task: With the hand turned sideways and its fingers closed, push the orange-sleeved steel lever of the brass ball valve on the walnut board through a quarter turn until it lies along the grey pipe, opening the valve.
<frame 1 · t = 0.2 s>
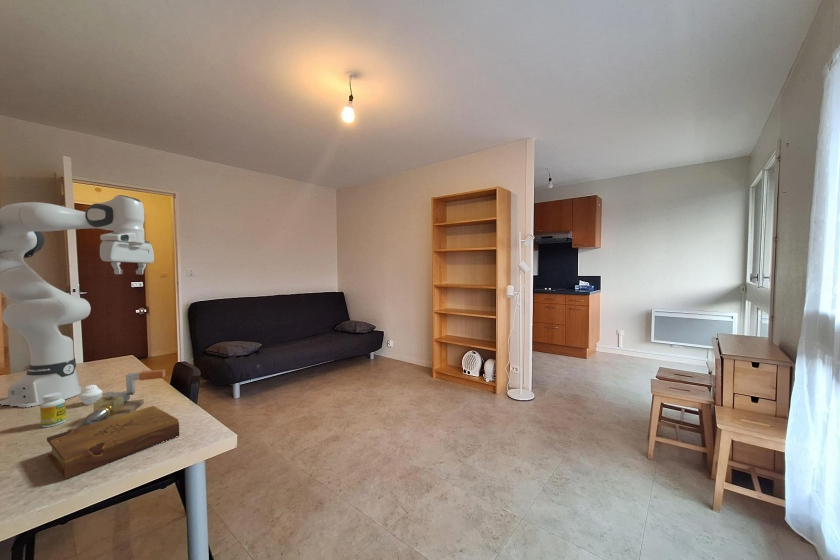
hand: (129, 274, 123), 48 cm above the table, tool pointing down, fingers open, 8 cm apart
ball valve: (109, 417, 108), resting on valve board
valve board: (109, 417, 108), on the table
muffin: (91, 403, 119), on the table
brown wooden block: (117, 448, 90), on the table
valve lever: (134, 383, 110), point 11 cm above the table, hinge at 0.0°
supplement bottle: (53, 424, 103), on the table
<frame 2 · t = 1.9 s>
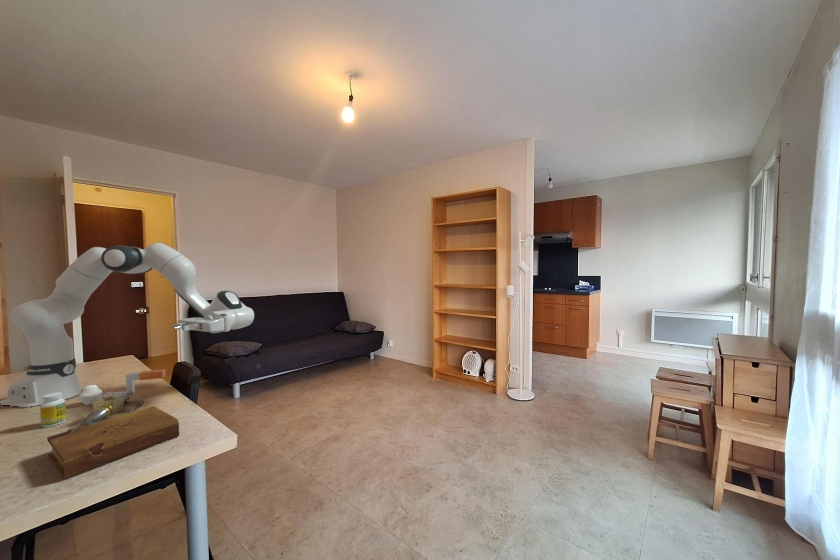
hand: (178, 327, 118), 28 cm above the table, tool horizontal, fingers open, 5 cm apart
nothing on the table moved.
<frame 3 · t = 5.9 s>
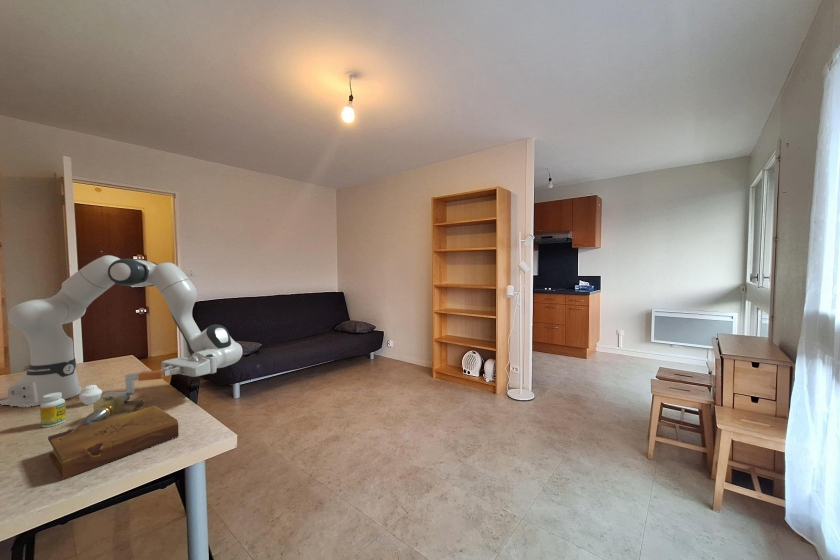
hand: (161, 373, 113), 13 cm above the table, tool horizontal, fingers closed
valve lever: (133, 384, 109), point 11 cm above the table, hinge at 3.0°, touching gripper
everything else where it was.
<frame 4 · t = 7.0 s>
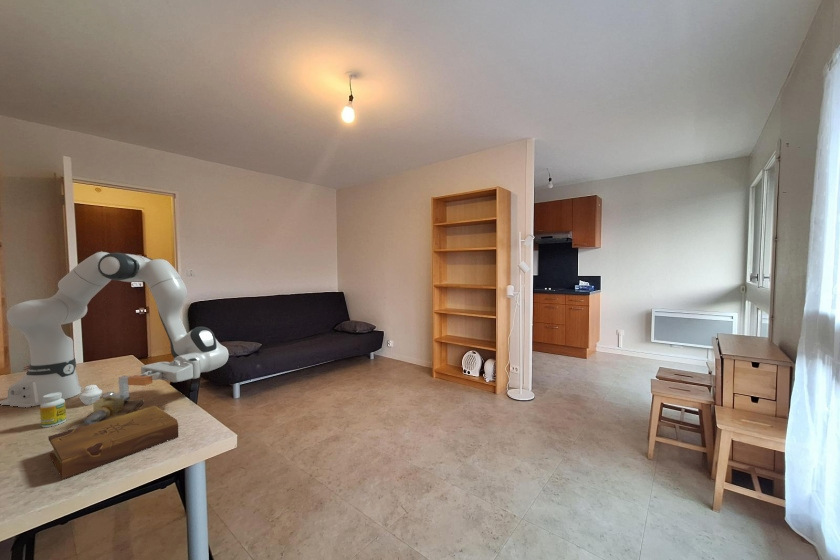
hand: (140, 378, 108), 13 cm above the table, tool horizontal, fingers closed
valve lever: (126, 387, 106), point 11 cm above the table, hinge at 27.1°, touching gripper
everything else where it was.
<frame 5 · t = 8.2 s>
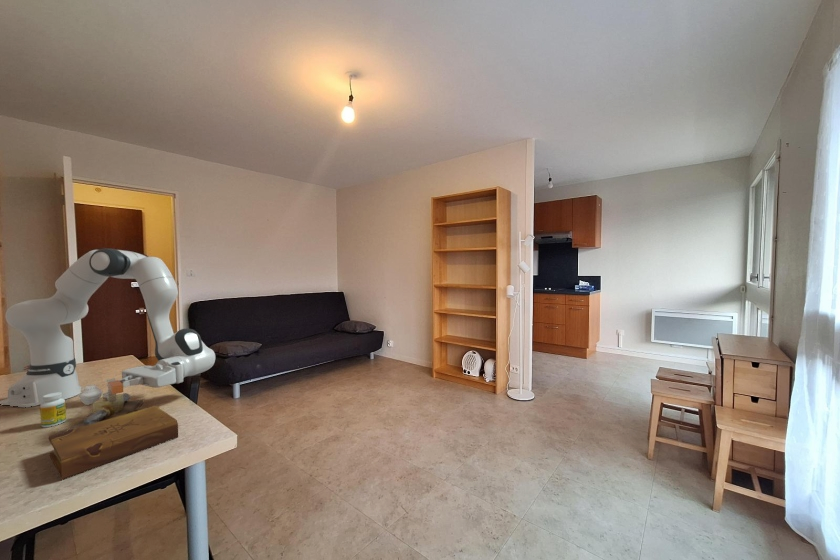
hand: (119, 384, 103), 13 cm above the table, tool horizontal, fingers closed
valve lever: (112, 391, 103), point 11 cm above the table, hinge at 57.5°, touching gripper
everything else where it was.
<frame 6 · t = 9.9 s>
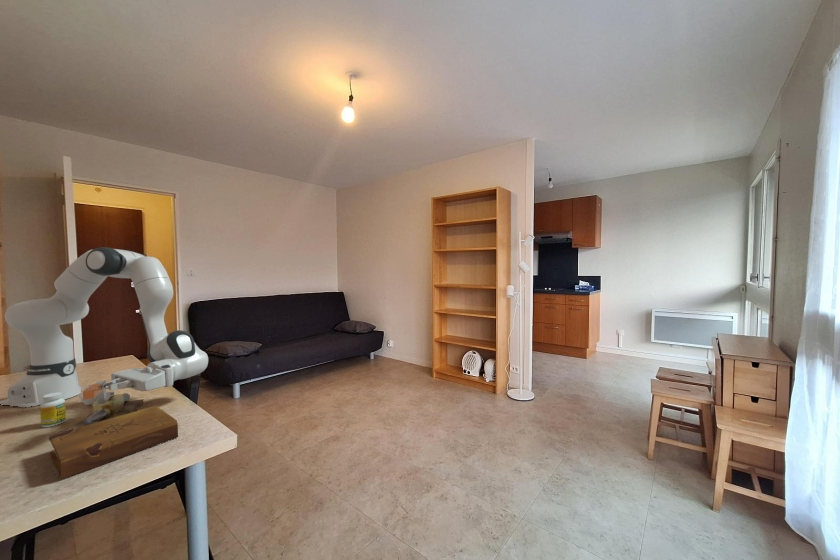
hand: (107, 387, 100), 13 cm above the table, tool horizontal, fingers closed
valve lever: (100, 393, 101), point 10 cm above the table, hinge at 80.8°, touching gripper
everything else where it was.
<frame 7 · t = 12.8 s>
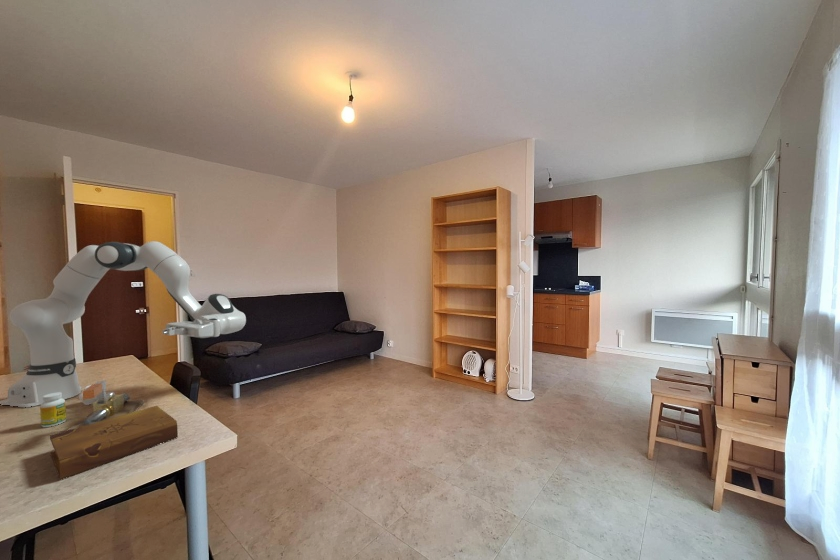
hand: (165, 332, 115), 27 cm above the table, tool horizontal, fingers closed
valve lever: (100, 393, 101), point 10 cm above the table, hinge at 80.8°
everything else where it was.
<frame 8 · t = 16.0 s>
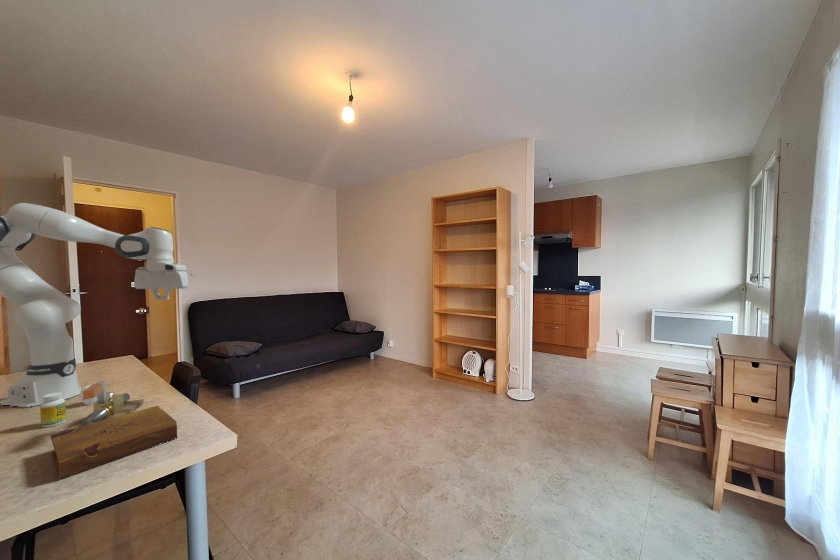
hand: (162, 299, 134), 37 cm above the table, tool pointing down, fingers closed
nothing on the table moved.
at the end: valve lever at +81° (first picture: +0°) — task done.
